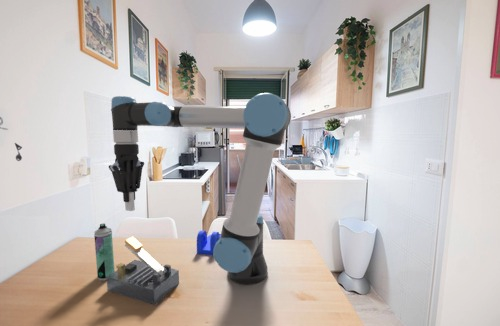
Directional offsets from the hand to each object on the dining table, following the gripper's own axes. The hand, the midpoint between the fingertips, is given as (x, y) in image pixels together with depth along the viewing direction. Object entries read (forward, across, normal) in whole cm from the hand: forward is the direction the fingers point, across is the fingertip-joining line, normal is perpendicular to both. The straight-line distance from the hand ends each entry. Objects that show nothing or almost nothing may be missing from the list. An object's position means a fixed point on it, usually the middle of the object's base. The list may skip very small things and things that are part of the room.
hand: (130, 210), depth 87 cm
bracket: (+26, -34, +13) cm, 45 cm away
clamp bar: (+15, +3, +8) cm, 18 cm away
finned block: (+26, +3, +8) cm, 27 cm away
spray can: (+26, +3, -10) cm, 28 cm away
